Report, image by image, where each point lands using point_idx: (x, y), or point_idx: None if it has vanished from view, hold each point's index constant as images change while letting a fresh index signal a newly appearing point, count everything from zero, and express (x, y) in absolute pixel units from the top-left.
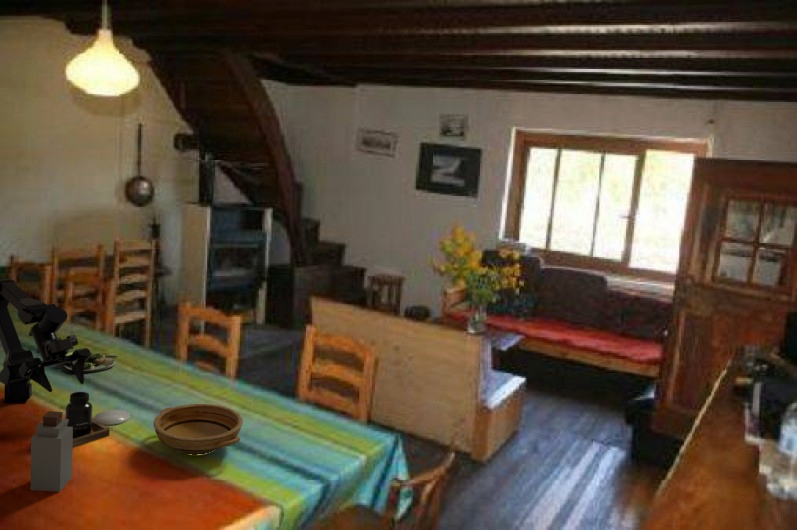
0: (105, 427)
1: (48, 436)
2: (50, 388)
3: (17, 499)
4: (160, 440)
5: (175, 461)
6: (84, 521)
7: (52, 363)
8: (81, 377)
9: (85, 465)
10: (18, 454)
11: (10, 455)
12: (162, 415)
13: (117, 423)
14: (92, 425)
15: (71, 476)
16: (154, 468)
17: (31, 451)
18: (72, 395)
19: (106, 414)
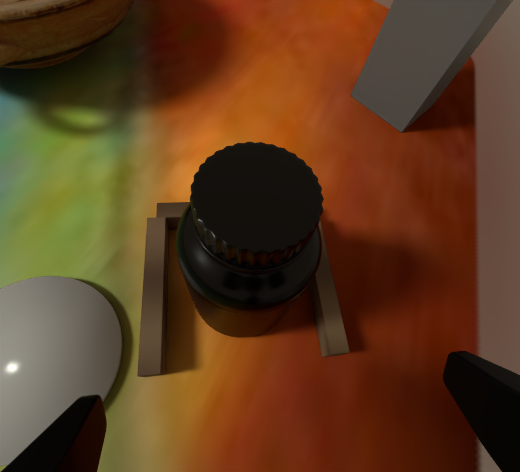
0: (156, 227)
1: None
2: (483, 362)
3: (457, 94)
4: (130, 6)
5: (136, 23)
6: (371, 2)
7: None
8: (55, 456)
9: (307, 116)
10: (445, 267)
11: (467, 275)
12: (22, 1)
13: (69, 278)
14: (165, 309)
15: (353, 91)
16: (192, 30)
17: (509, 3)
18: (308, 204)
19: (25, 406)
